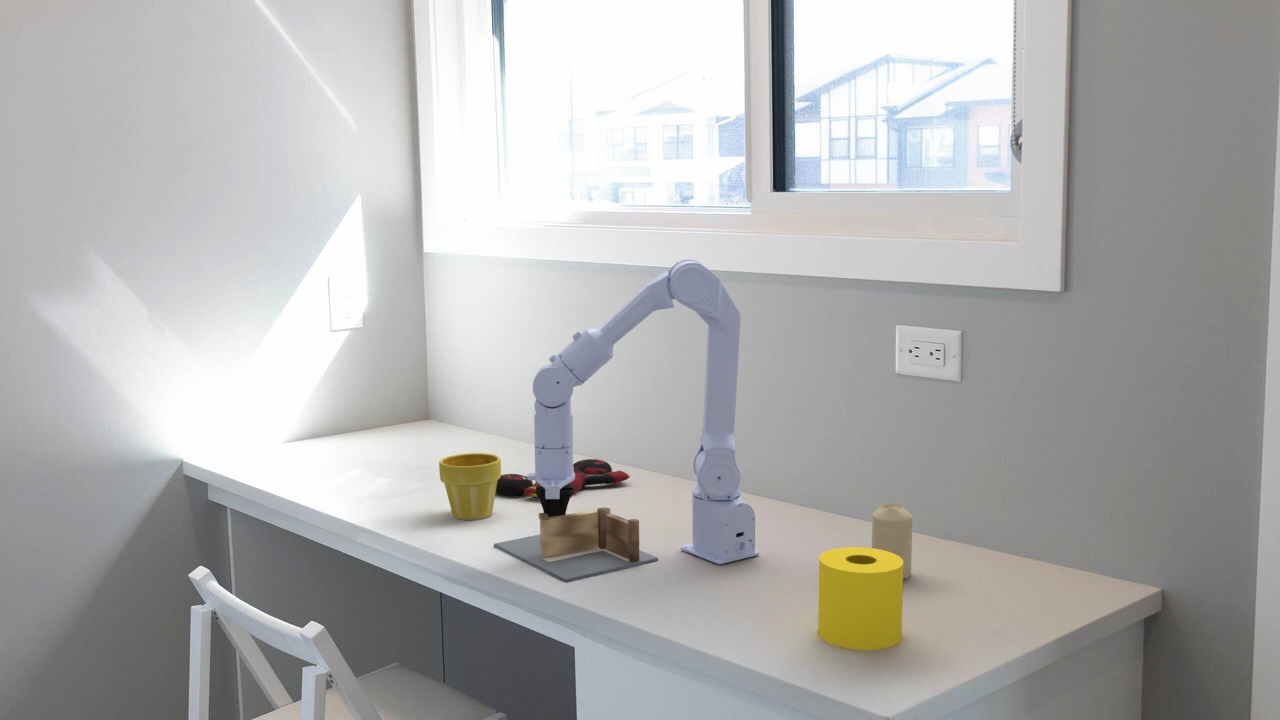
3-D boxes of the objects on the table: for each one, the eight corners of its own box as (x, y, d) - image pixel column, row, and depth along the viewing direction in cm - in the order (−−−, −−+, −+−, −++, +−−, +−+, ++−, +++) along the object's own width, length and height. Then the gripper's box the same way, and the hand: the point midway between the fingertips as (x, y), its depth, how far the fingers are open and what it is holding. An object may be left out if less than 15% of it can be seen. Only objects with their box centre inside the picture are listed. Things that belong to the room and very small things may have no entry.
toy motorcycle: (484, 500, 210) (529, 504, 197) (482, 472, 210) (527, 474, 197) (597, 483, 225) (645, 486, 212) (595, 457, 225) (643, 458, 212)
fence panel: (594, 545, 174) (593, 504, 173) (598, 547, 173) (598, 506, 172) (539, 554, 169) (538, 513, 169) (543, 557, 168) (542, 515, 167)
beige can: (903, 583, 158) (905, 512, 156) (865, 576, 161) (866, 507, 159) (916, 572, 162) (918, 503, 161) (879, 565, 165) (880, 498, 164)
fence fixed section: (642, 560, 168) (642, 520, 167) (631, 562, 166) (631, 522, 166) (606, 544, 175) (605, 506, 174) (595, 547, 174) (594, 508, 173)
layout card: (658, 560, 169) (658, 557, 169) (565, 582, 160) (565, 578, 159) (581, 528, 186) (581, 525, 186) (493, 546, 176) (493, 543, 176)
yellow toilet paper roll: (810, 643, 137) (811, 567, 135) (827, 615, 146) (828, 543, 145) (894, 654, 133) (896, 576, 132) (907, 625, 142) (908, 551, 141)
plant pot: (428, 519, 192) (426, 462, 190) (463, 504, 201) (461, 450, 200) (480, 526, 187) (478, 468, 186) (513, 511, 197) (512, 455, 195)
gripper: (530, 435, 177) (531, 520, 179) (523, 456, 162) (525, 548, 164) (575, 434, 177) (576, 519, 179) (573, 455, 163) (574, 548, 165)
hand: (555, 533), depth 172 cm, fingers closed, pressing on fence panel
